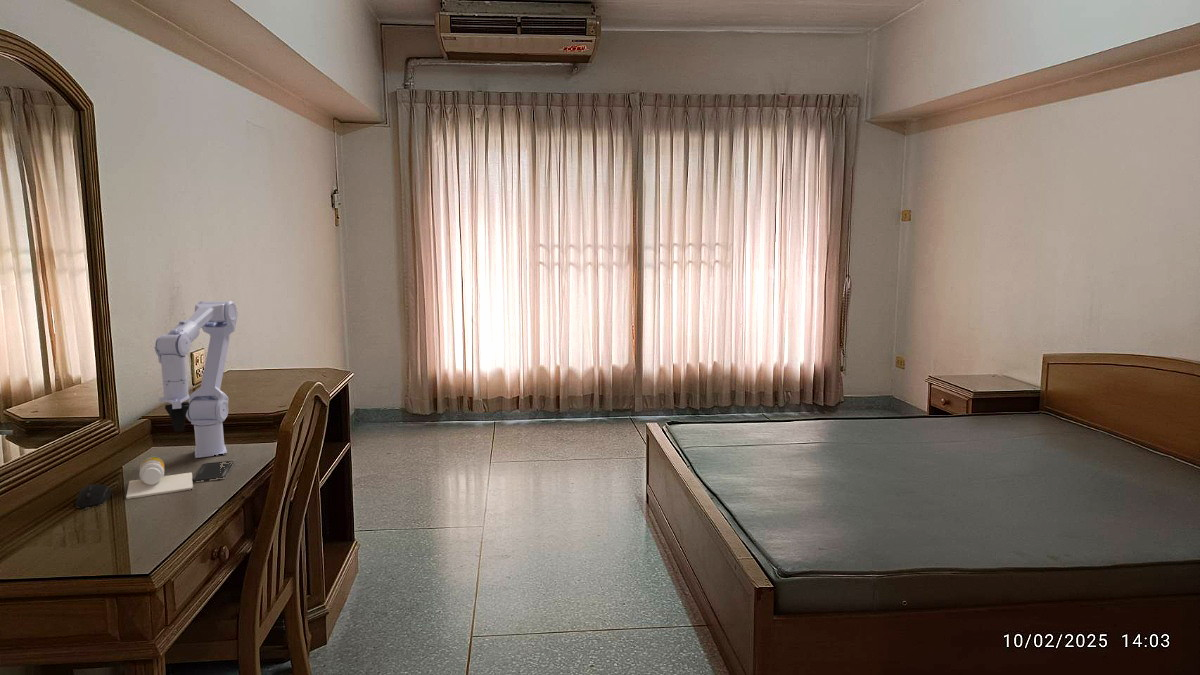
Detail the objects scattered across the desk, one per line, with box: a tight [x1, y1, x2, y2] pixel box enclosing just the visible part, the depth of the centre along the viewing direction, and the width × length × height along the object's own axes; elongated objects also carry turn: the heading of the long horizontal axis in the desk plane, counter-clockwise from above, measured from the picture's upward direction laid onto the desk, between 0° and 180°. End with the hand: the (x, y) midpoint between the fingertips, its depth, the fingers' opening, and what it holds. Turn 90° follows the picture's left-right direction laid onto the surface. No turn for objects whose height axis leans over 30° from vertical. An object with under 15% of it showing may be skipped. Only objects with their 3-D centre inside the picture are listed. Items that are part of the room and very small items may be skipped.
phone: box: [192, 460, 235, 483], centre depth 208 cm, size 8×1×15 cm
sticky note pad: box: [125, 471, 194, 500], centre depth 197 cm, size 14×14×1 cm
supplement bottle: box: [138, 456, 165, 485], centre depth 199 cm, size 5×5×10 cm
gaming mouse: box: [75, 483, 112, 509], centre depth 186 cm, size 6×15×4 cm, turn 20°
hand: (179, 431), depth 210 cm, fingers closed
